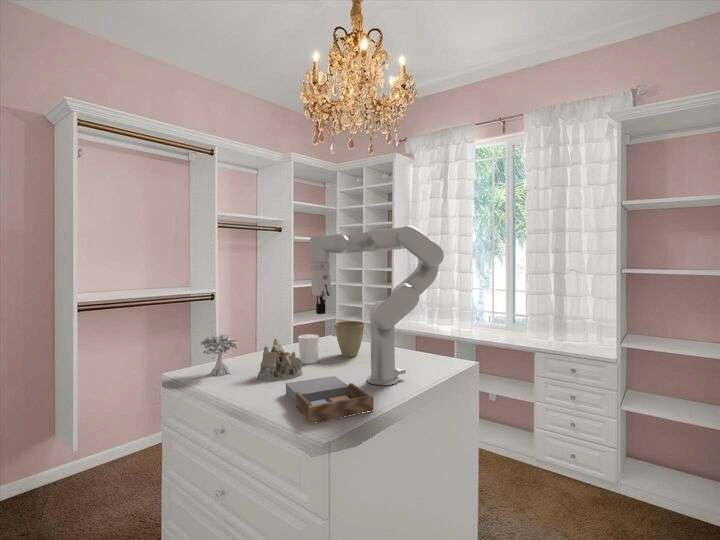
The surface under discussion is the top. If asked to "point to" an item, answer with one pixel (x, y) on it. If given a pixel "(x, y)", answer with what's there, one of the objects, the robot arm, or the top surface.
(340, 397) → the terracotta tile
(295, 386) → the grey flat block
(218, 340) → the tree
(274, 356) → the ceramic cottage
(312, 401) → the blue-grey tile
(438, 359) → the top surface
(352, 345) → the plant pot
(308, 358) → the candle holder
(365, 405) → the box
